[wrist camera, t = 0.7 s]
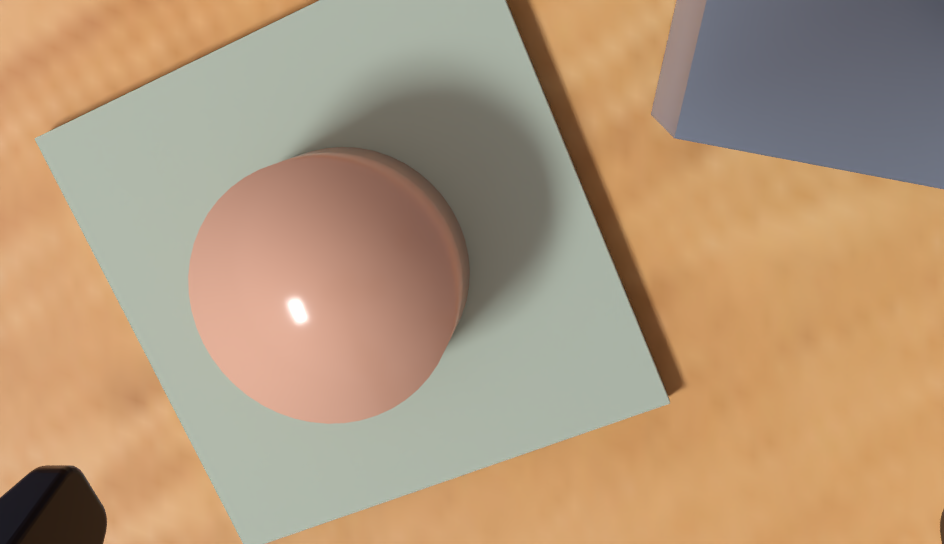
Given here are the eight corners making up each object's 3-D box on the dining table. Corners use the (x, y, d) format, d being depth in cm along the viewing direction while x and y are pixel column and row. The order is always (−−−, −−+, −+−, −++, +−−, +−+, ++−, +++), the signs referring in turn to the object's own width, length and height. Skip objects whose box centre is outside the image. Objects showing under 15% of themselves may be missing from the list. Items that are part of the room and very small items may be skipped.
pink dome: (508, 335, 22) (498, 370, 20) (295, 416, 23) (261, 458, 21) (408, 106, 21) (384, 113, 19) (191, 203, 22) (142, 221, 20)
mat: (668, 397, 22) (670, 403, 22) (251, 542, 25) (246, 550, 24) (476, -72, 20) (474, -75, 20) (43, 136, 23) (34, 138, 22)
